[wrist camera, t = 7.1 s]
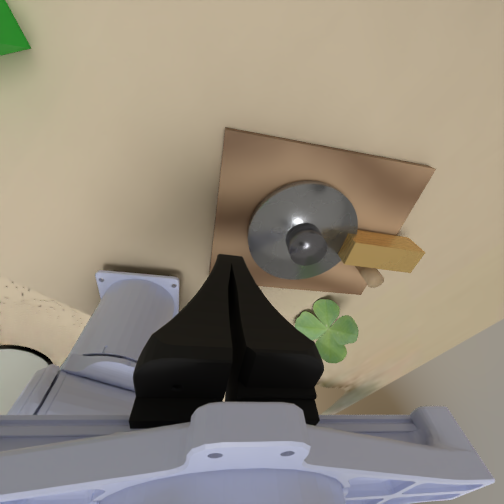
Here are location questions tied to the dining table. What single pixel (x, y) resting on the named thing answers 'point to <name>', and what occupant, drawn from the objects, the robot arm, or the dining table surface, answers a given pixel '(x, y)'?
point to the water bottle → (17, 372)
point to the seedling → (328, 330)
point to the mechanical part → (10, 32)
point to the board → (316, 169)
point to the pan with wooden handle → (319, 235)
